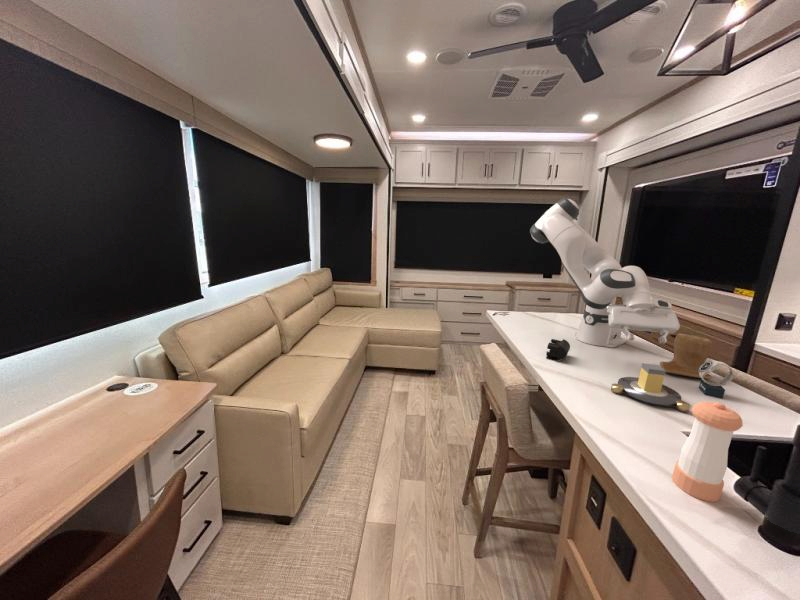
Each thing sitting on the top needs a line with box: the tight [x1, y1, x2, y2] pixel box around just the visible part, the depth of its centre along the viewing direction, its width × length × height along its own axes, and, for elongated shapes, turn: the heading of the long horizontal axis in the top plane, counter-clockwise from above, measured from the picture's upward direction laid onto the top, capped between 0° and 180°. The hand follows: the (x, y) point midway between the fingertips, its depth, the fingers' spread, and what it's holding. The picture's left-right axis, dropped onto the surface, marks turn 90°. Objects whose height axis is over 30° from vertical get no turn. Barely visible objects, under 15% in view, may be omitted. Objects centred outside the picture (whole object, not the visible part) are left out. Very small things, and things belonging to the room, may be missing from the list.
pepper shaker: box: [671, 401, 744, 503], centre depth 62 cm, size 7×7×19 cm
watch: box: [698, 360, 735, 399], centre depth 101 cm, size 6×8×11 cm
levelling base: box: [610, 376, 691, 413], centre depth 98 cm, size 19×19×2 cm
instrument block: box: [638, 362, 667, 393], centre depth 98 cm, size 4×4×8 cm
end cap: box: [545, 338, 571, 362], centre depth 127 cm, size 10×7×7 cm
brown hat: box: [659, 333, 713, 380], centre depth 115 cm, size 15×12×15 cm
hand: (646, 341), depth 104 cm, fingers open, 8 cm apart
